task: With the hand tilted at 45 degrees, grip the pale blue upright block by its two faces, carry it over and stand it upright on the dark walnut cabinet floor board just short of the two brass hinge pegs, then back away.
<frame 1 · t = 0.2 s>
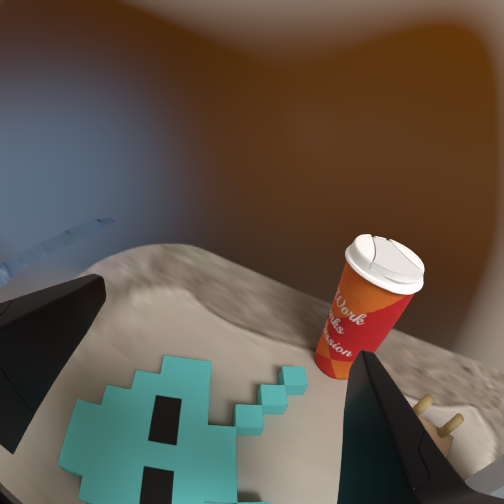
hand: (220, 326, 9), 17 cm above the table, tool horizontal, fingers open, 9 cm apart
alien figure: (191, 467, 17), on the table
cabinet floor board: (404, 461, 17), on the table
paper cup: (337, 361, 29), on the table
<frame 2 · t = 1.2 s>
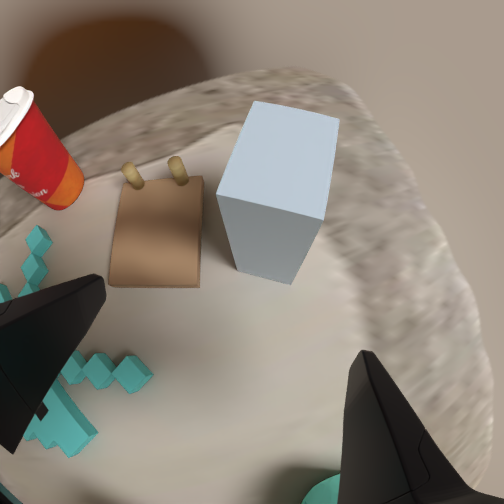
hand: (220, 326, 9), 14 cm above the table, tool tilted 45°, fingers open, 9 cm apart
pale blue upright block: (273, 244, 24), on the table
alien figure: (39, 359, 21), on the table
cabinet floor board: (158, 233, 25), on the table
paper cup: (66, 190, 27), on the table
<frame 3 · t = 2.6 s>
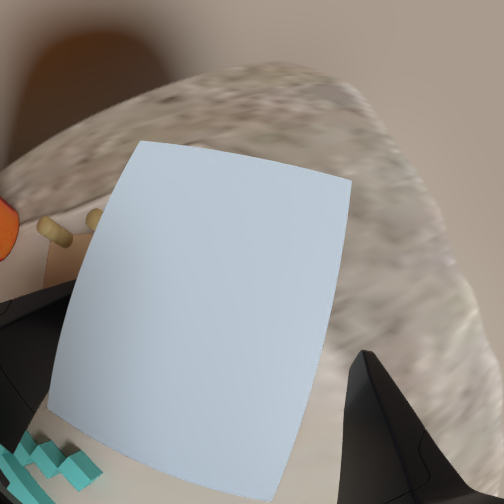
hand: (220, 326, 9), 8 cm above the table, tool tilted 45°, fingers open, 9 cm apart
pale blue upright block: (239, 334, 16), on the table
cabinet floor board: (91, 308, 17), on the table
paper cup: (4, 236, 19), on the table
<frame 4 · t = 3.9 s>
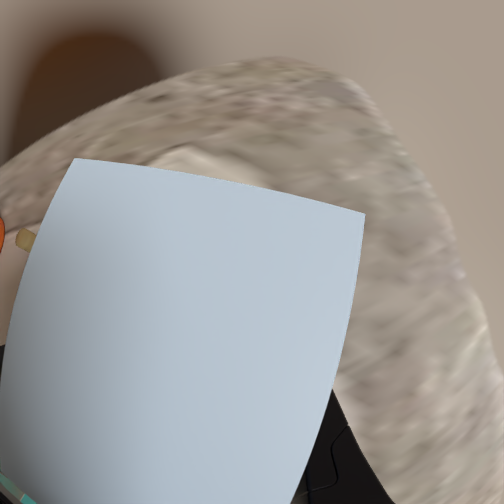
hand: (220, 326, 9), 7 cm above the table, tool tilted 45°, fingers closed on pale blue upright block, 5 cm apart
pale blue upright block: (230, 357, 15), on the table, touching gripper
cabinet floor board: (75, 325, 15), on the table
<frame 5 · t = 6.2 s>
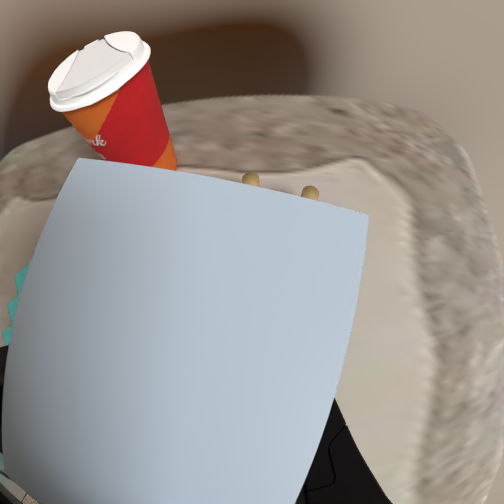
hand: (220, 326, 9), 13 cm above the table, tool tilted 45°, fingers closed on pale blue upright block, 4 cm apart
pale blue upright block: (230, 356, 15), point 6 cm above the table, touching gripper
alien figure: (77, 356, 21), on the table
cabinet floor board: (263, 262, 22), on the table
paper cup: (151, 171, 26), on the table
when the fingers open (9 cm above the table, at t = 7.9 s): pale blue upright block drops 1 cm, resting on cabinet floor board.
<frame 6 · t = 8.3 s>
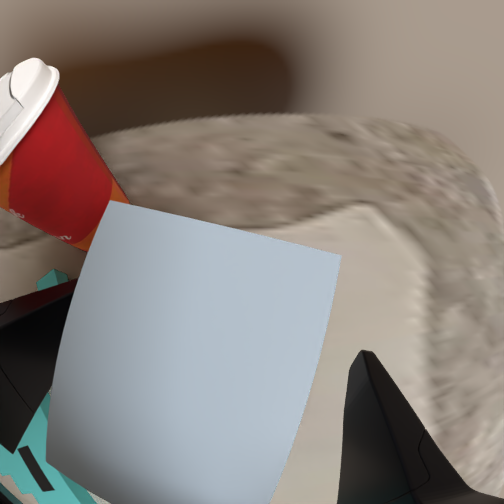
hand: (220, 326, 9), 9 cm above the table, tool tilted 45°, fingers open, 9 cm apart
pale blue upright block: (233, 356, 16), point 1 cm above the table, touching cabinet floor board
alien figure: (44, 426, 15), on the table
paper cup: (103, 222, 20), on the table
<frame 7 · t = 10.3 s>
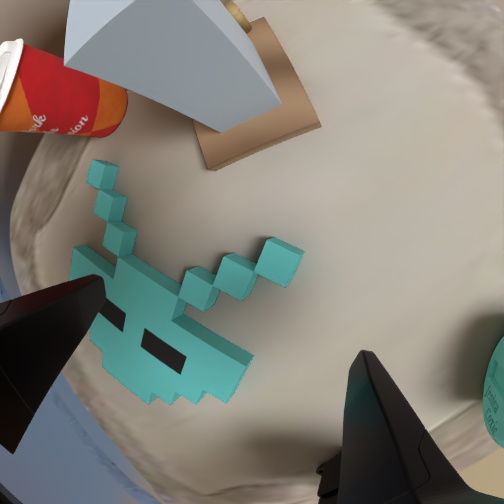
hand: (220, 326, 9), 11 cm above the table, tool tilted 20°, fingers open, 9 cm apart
pale blue upright block: (237, 84, 17), point 1 cm above the table, touching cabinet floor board
alien figure: (154, 302, 24), on the table
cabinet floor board: (243, 90, 18), on the table
paper cup: (110, 111, 23), on the table
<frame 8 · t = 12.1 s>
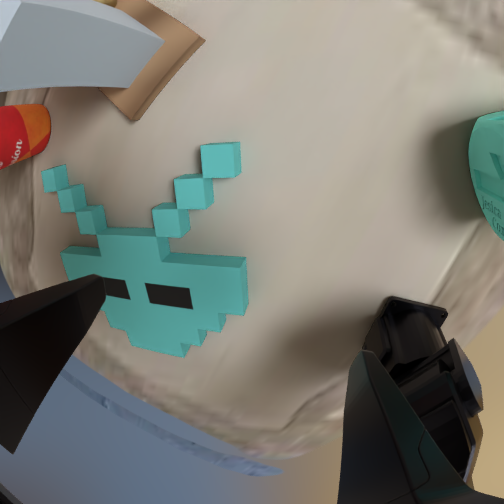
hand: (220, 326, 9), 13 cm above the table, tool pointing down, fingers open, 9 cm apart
pale blue upright block: (124, 46, 15), point 1 cm above the table, touching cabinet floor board
alien figure: (145, 258, 26), on the table
decorative dice: (502, 161, 14), on the table
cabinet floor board: (132, 48, 16), on the table
paper cup: (38, 128, 21), on the table
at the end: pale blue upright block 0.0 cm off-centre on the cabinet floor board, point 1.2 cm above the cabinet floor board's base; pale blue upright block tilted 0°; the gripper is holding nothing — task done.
